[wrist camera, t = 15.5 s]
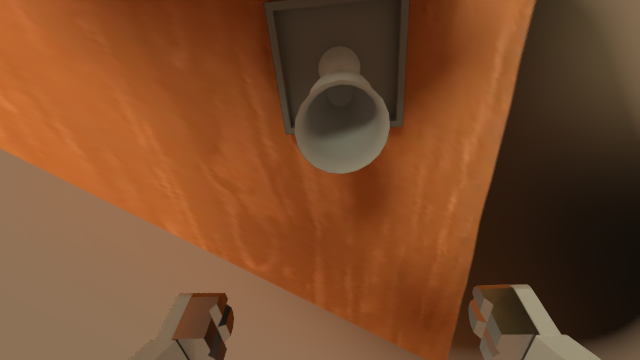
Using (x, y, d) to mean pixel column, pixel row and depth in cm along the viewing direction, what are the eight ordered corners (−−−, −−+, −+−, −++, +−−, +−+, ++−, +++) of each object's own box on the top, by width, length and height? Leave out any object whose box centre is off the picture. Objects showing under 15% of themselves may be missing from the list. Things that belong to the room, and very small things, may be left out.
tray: (268, 1, 35) (263, 2, 32) (405, -14, 33) (410, -13, 31) (288, 126, 43) (285, 134, 41) (399, 118, 41) (402, 126, 39)
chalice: (319, 28, 35) (306, 67, 20) (376, 44, 36) (406, 94, 21) (305, 91, 39) (286, 162, 24) (357, 104, 40) (370, 182, 25)
